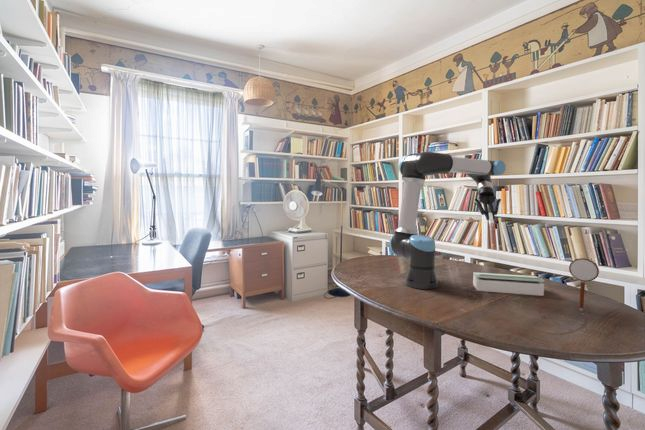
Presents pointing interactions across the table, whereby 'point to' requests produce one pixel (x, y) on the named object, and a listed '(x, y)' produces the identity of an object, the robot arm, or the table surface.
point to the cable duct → (508, 286)
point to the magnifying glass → (583, 274)
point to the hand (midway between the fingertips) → (491, 224)
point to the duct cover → (508, 277)
